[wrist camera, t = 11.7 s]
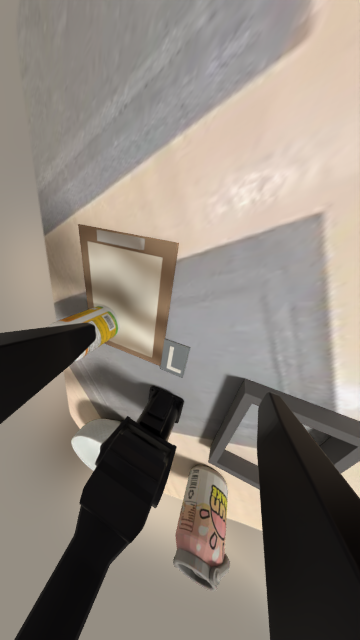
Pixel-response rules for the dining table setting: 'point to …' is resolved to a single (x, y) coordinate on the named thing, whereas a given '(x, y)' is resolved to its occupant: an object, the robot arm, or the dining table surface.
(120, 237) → the clipboard
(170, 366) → the letter card
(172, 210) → the dining table surface
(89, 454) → the cereal bowl
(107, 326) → the supplement bottle
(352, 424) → the empty rectangular frame
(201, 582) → the beverage can
